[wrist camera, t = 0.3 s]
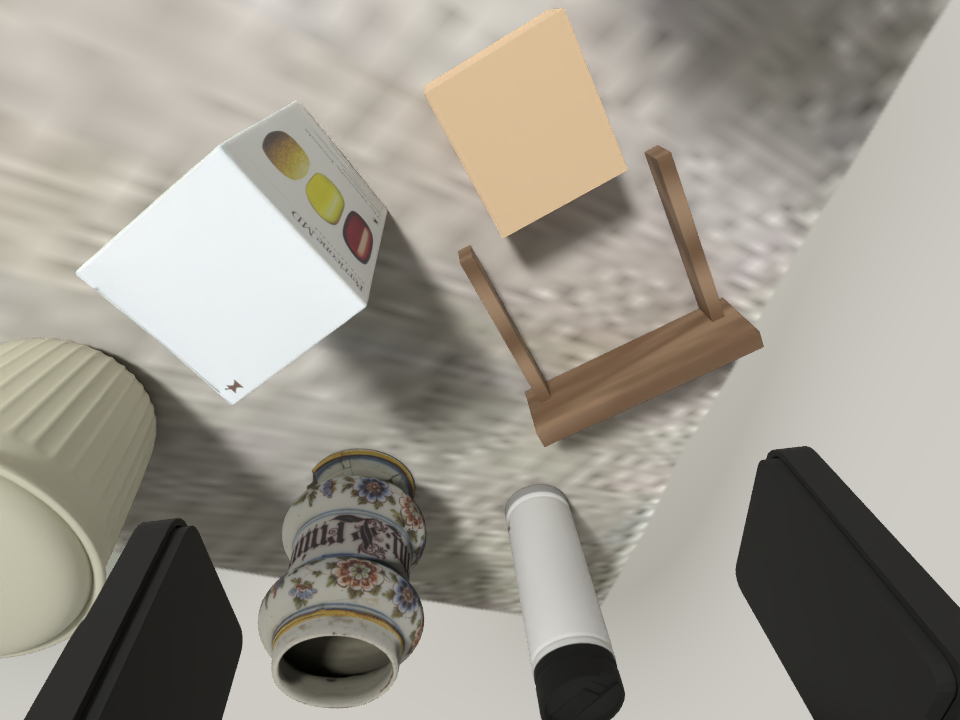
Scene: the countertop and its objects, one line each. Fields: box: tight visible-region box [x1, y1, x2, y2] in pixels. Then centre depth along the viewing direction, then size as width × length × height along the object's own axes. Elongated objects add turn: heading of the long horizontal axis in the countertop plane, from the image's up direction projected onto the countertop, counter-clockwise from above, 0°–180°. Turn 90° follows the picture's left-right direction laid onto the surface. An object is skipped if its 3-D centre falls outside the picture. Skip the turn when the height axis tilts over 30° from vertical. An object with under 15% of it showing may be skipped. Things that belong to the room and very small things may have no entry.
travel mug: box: [505, 485, 625, 720], centre depth 49 cm, size 6×7×20 cm
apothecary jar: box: [258, 449, 426, 708], centre depth 47 cm, size 12×12×18 cm
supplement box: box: [76, 101, 387, 405], centre depth 33 cm, size 10×9×17 cm
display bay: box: [458, 145, 764, 447], centre depth 44 cm, size 16×18×6 cm
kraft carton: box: [424, 8, 628, 238], centre depth 38 cm, size 10×9×5 cm
